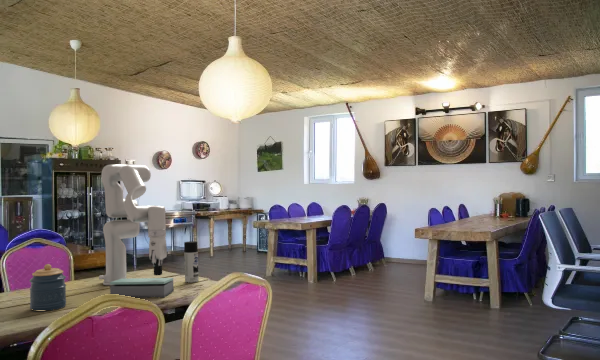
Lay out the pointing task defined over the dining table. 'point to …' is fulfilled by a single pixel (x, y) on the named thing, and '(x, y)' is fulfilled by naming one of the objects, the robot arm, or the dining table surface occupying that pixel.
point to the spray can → (191, 261)
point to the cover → (142, 281)
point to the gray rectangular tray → (143, 290)
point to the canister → (48, 289)
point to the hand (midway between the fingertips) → (158, 274)
